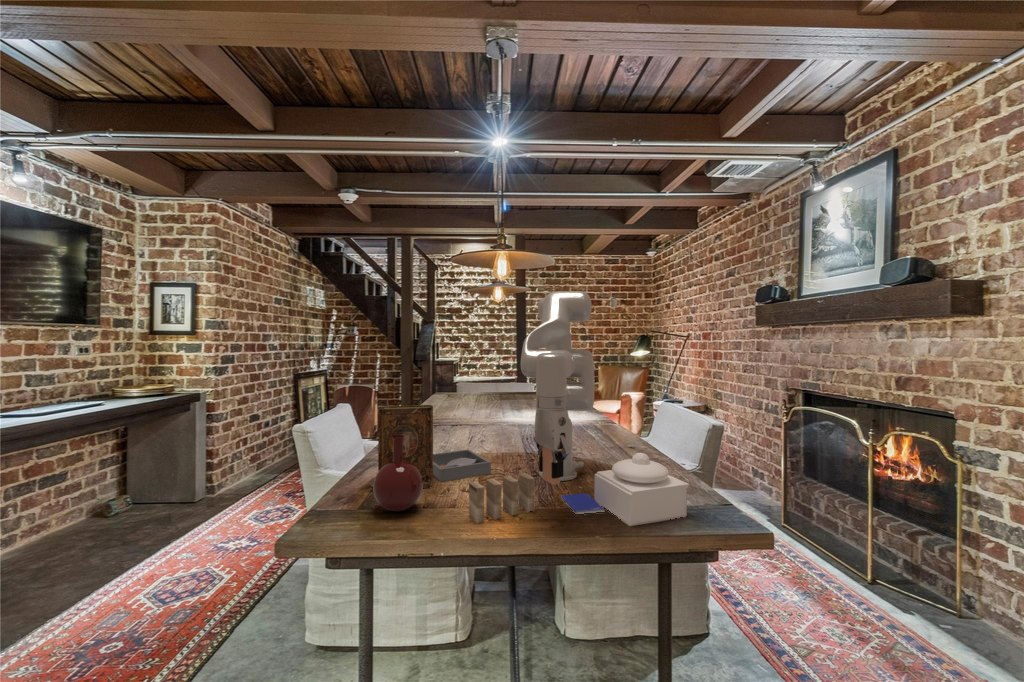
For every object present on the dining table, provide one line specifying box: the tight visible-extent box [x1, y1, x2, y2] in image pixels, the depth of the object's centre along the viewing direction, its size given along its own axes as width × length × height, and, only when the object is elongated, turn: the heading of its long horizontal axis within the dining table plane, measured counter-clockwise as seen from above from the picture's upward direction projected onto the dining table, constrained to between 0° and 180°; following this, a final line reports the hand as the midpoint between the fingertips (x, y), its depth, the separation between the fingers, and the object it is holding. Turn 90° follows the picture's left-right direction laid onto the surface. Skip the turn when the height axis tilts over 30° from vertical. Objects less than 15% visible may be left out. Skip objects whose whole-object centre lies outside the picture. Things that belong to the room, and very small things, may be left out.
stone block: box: [443, 458, 477, 468], centre depth 161 cm, size 12×5×10 cm
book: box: [377, 404, 434, 489], centre depth 144 cm, size 16×6×25 cm, turn 102°
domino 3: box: [502, 475, 519, 517], centre depth 124 cm, size 2×5×9 cm, turn 28°
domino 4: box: [518, 472, 536, 513], centre depth 126 cm, size 2×5×9 cm, turn 29°
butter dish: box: [593, 452, 690, 527], centre depth 126 cm, size 18×18×16 cm
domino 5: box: [541, 446, 561, 486], centre depth 116 cm, size 2×5×9 cm, turn 29°
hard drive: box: [560, 493, 606, 515], centre depth 129 cm, size 2×8×12 cm
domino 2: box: [485, 478, 503, 521], centre depth 122 cm, size 2×5×9 cm, turn 29°
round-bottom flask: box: [372, 435, 424, 512], centre depth 126 cm, size 13×13×20 cm
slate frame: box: [433, 449, 492, 483], centre depth 161 cm, size 18×19×4 cm
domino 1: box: [468, 481, 485, 525], centre depth 119 cm, size 2×5×9 cm, turn 29°
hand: (551, 473), depth 116 cm, fingers closed on domino 5, 4 cm apart
